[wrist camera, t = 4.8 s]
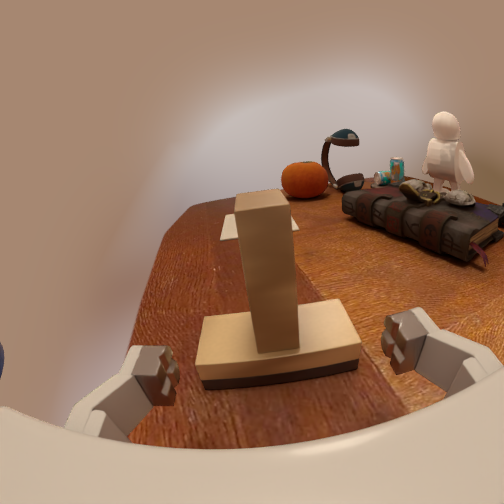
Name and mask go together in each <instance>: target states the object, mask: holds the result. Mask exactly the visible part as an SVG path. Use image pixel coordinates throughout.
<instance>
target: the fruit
mask: <svg viewBox="0 0 504 504" xmlns="http://www.w3.org/2000/svg"><path fill="white" fill-rule="evenodd" d="M281 181H282V187H283V189H284V190H285V191H286V192H287V193H288V194H289V195H291V196H293V197H296V198H311V197H315V196H318V195H320V194H321V193H323V192H324V191H325V189H326V188H327V186H328V174H327V172H326V170H325V169H324V168H323V167H322V166H321V165H320V164H318V163H316V162H309V161H308V162H299V163H293V164H291V165H289V166H287V167H286V168H285V169H284V170H283V172H282V177H281Z"/></svg>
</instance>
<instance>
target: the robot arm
mask: <svg viewBox="0 0 504 504" xmlns="http://www.w3.org/2000/svg"><path fill="white" fill-rule="evenodd" d="M384 325H385V327H386V329H385V330H384V331H383V333H382V337H381V345H382V349H383V352H384V354H385V356H387V357H389V358H391V361H390V365H391V367H392V368H393V370H394V372H395V374H396V375H399V374H402V373H406V372H409V371H412V370H415V371H416V372H417V373H419V374H420V375H422V376H423V377H425V378H426V379H428V380H429V381H431V382H432V383H434V384H435V385H437V386H439V387H440V388H442V389H443V390H445V391H446V392H447V393H446V395H445V397H444V399H443V400H441V401H439V402H437V403H435V404H432V405H430V406H428V407H425V408H423V409H420V410H418V411H415V412H413V413H410V414H408V415H405V416H402V417H399V418H396V419H394V420H391V421H388V422H385V423H381V424H378V425H375V426H372V427H368V428H365V429H361V430H357V431H354V432H350V433H346V434H342V435H337V436H333V437H328V438H323V439H318V440H313V441H307V442H301V443H294V444H287V445H279V446H270V447H259V448H245V449H182V448H168V447H157V446H148V445H140V444H133V443H132V442H131V441H130V440H129V439H128V438H127V436H128V435H129V434H130V432H131V431H132V430H133V429H134V428H135V427H136V426H137V425H138V424H139V423H140V421H141V420H142V419H143V418H144V417H145V416H146V415H147V414H148V413H149V411H150V410H151V409H152V408H153V406H174V402H175V398H176V391H175V389H174V388H175V387H176V386H177V385H178V384H179V379H180V375H179V367H178V364H177V362H176V361H175V360H174V359H172V358H171V357H172V354H173V353H172V350H171V348H170V347H169V346H167V345H162V346H132V347H131V348H130V350H129V352H128V354H127V356H126V358H125V361H124V363H123V365H122V367H121V370H120V372H119V374H115V375H114V376H112V377H111V378H110V379H108V380H107V381H106V382H104V383H103V384H101V385H100V386H99V387H98V388H96V389H95V390H94V391H92V392H91V393H89V394H88V395H87V396H85V397H84V398H83V399H81V400H80V401H79V402H77V403H76V404H75V405H74V406H73V408H72V411H71V412H70V415H69V417H68V419H67V422H66V424H65V426H64V428H62V427H59V426H56V425H53V424H50V423H47V422H44V421H41V420H38V419H35V418H33V417H30V416H28V415H25V414H23V413H20V412H18V411H16V410H14V409H11V408H9V407H6V406H2V407H0V504H504V366H503V365H502V363H501V362H500V361H499V360H498V358H497V357H496V356H495V355H494V354H493V352H492V351H491V350H490V349H489V348H488V347H486V346H484V345H481V344H479V343H476V342H474V341H471V340H469V339H466V338H464V337H461V336H459V335H456V334H454V333H451V332H449V331H446V330H444V329H442V330H440V329H439V328H438V327H437V325H436V324H435V323H434V322H433V321H432V320H431V318H430V317H429V316H428V315H427V314H426V313H425V311H424V310H423V309H422V308H420V307H417V308H413V309H410V310H407V311H403V312H399V313H396V314H392V315H388V316H386V318H385V320H384Z"/></svg>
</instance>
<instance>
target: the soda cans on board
mask: <svg viewBox="0 0 504 504" xmlns="http://www.w3.org/2000/svg"><path fill="white" fill-rule="evenodd" d="M402 180H404V162H403V158H397V157H392V158H391V160H390V171H379V172H376V173H375V174H374V181H375V183H373V184H371V188H373V189H374V188H383V187H387V186H388V184H390V183H394V182H398V181H402Z"/></svg>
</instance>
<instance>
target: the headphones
mask: <svg viewBox="0 0 504 504" xmlns="http://www.w3.org/2000/svg"><path fill="white" fill-rule="evenodd" d="M331 143H332V144H334V145H337V146H344V147H349V146H350V147H351V146H358V145H359V138H358V136H357V135H356V134H355V132H353V131H352V130H349V129H343V130H340V131H337V132H336V133H334V134H333V135H331V136H330V137H327V138H326V139H325V143H324V145H323V149H322V154H321V161H322V167H323V168H324V169H325V170H326V172H327V174H328V181H329V182H330V183H331V184H332V185H333V187H334V188H336V189H340V190H343V191H346V192H350V191H356V190H360V189H361V188H362V186H363V184H364V177H363V174H360V173H359V174H351V175H347V176H344V177H342V178H340V179H338V180H337V181H336V180H335V178H334V177H333V175H332V173H331V171H330V168H329V163H328V153H329V148H330V144H331Z"/></svg>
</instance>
